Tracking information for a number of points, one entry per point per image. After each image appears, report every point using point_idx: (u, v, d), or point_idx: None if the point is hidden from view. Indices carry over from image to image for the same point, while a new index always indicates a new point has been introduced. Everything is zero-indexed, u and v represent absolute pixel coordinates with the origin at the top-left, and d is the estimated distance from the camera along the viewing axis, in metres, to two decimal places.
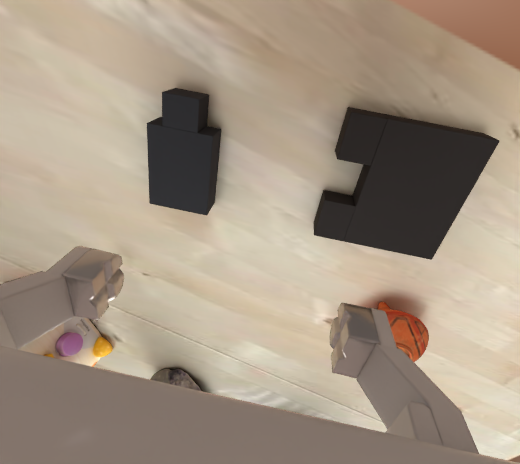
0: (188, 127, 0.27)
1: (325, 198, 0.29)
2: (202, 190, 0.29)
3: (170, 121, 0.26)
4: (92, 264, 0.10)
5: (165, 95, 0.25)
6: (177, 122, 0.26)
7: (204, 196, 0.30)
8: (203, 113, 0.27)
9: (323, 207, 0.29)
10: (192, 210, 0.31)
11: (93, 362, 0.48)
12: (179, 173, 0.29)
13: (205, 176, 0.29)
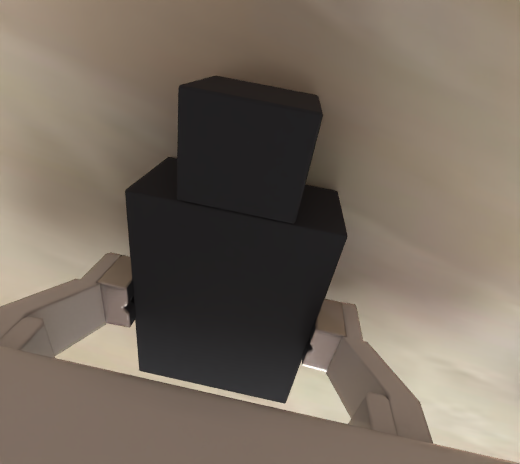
0: (265, 207, 0.08)
1: None
2: (283, 359, 0.11)
3: (204, 187, 0.08)
4: (125, 271, 0.10)
5: (191, 99, 0.07)
6: (229, 191, 0.08)
7: (287, 370, 0.11)
8: None
9: None
10: (249, 392, 0.12)
11: None
12: (221, 320, 0.10)
13: (298, 332, 0.10)
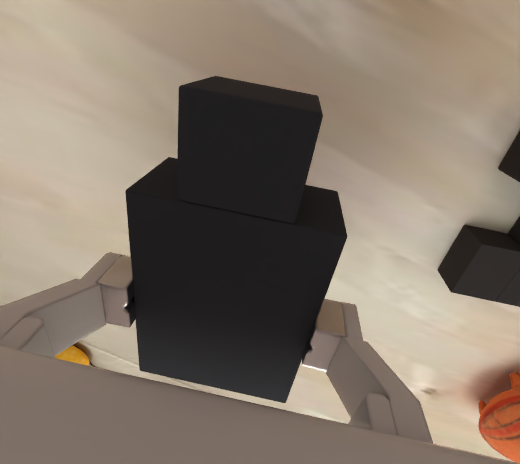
0: (266, 207, 0.08)
1: (480, 240, 0.19)
2: (283, 358, 0.11)
3: (205, 187, 0.08)
4: (125, 271, 0.10)
5: (191, 99, 0.07)
6: (229, 191, 0.08)
7: (287, 370, 0.11)
8: None
9: (477, 254, 0.19)
10: (249, 391, 0.12)
11: None
12: (221, 319, 0.10)
13: (298, 331, 0.10)
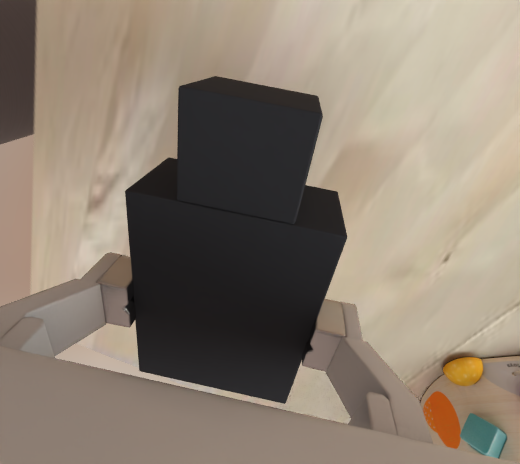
0: (265, 208, 0.08)
1: None
2: (283, 359, 0.11)
3: (204, 188, 0.08)
4: (125, 271, 0.10)
5: (191, 99, 0.07)
6: (229, 192, 0.08)
7: (287, 370, 0.11)
8: None
9: None
10: (249, 392, 0.12)
11: None
12: (221, 320, 0.10)
13: (298, 332, 0.10)
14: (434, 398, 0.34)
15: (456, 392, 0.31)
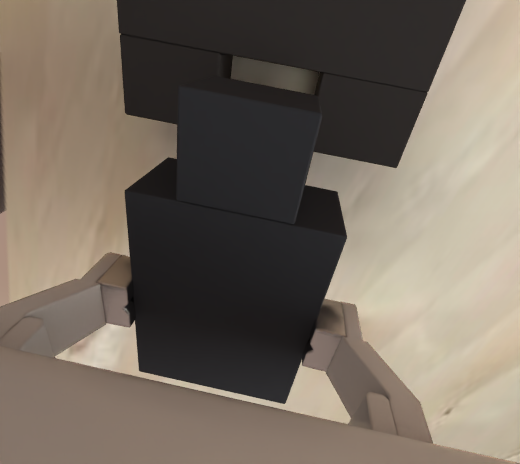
0: (265, 208, 0.08)
1: None
2: (283, 359, 0.11)
3: (204, 188, 0.08)
4: (125, 271, 0.10)
5: (190, 99, 0.07)
6: (228, 191, 0.08)
7: (287, 370, 0.11)
8: None
9: (323, 151, 0.13)
10: (248, 392, 0.12)
11: None
12: (221, 320, 0.10)
13: (298, 332, 0.10)
14: None
15: None
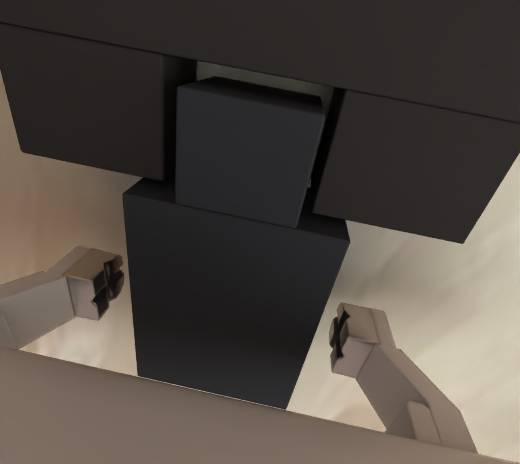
0: (266, 211, 0.08)
1: (312, 202, 0.08)
2: (284, 365, 0.10)
3: (203, 191, 0.08)
4: (93, 264, 0.10)
5: (189, 100, 0.06)
6: (228, 195, 0.07)
7: (288, 376, 0.11)
8: None
9: (341, 216, 0.08)
10: (249, 398, 0.12)
11: None
12: (221, 325, 0.10)
13: (299, 337, 0.10)
14: None
15: None
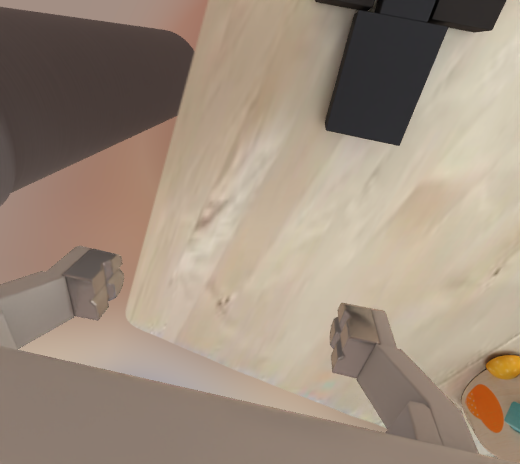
0: (417, 14, 0.20)
1: (430, 17, 0.21)
2: (405, 109, 0.23)
3: (393, 5, 0.20)
4: (92, 264, 0.10)
5: None
6: (403, 7, 0.20)
7: (406, 117, 0.23)
8: None
9: (444, 19, 0.20)
10: (381, 139, 0.24)
11: None
12: (380, 84, 0.22)
13: (416, 88, 0.22)
14: (477, 390, 0.39)
15: (498, 384, 0.37)
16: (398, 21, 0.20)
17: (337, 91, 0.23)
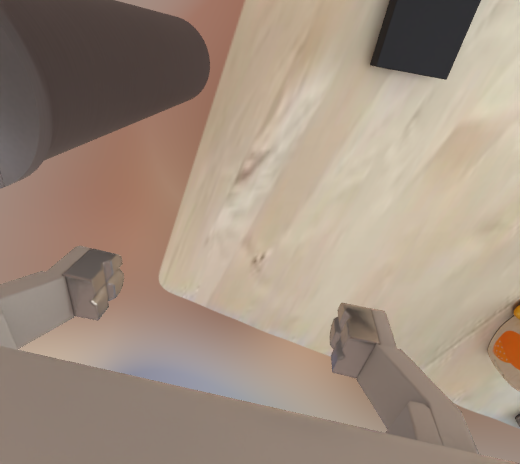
0: None
1: None
2: (454, 41, 0.24)
3: None
4: (92, 264, 0.10)
5: None
6: None
7: (454, 50, 0.25)
8: None
9: None
10: (430, 73, 0.26)
11: None
12: (432, 17, 0.24)
13: (466, 19, 0.23)
14: (504, 336, 0.41)
15: None
16: None
17: (390, 25, 0.24)
